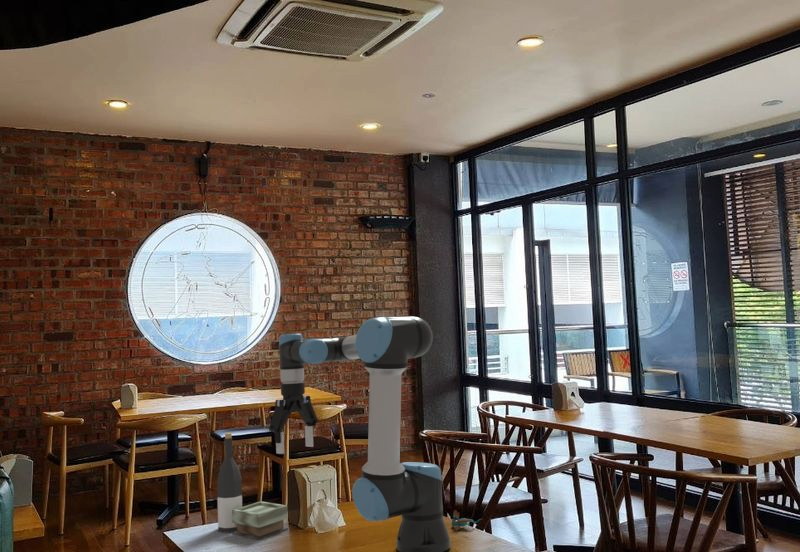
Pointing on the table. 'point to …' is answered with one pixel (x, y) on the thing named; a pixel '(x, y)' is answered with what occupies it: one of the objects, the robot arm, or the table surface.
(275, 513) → the two-tone layered tray
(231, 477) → the wine bottle
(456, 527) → the dragon figurine
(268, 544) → the table surface
